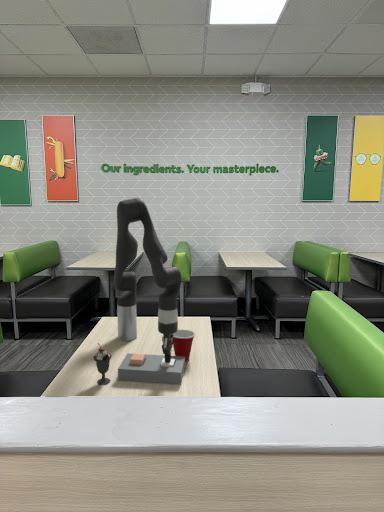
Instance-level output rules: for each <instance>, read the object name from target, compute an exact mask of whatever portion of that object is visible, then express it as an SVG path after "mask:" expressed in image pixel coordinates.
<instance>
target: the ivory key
mask: <svg viewBox="0 0 384 512" xmlns="http://www.w3.org/2000/svg"><path fill="white" fill-rule="evenodd" d="M174 366H175V359H171V361H170V363H168V362H165V358H163V360H162V362H161V367H174Z"/></svg>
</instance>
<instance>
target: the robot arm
mask: <svg viewBox="0 0 384 512" xmlns="http://www.w3.org/2000/svg"><path fill="white" fill-rule="evenodd" d="M116 206H117V207H116V225H117V232H116V233H117V234H116V245H115V267H114V272H113V273H114V274H113V282H112V285H113V288H114V291H116V292H126V293H125V294H124V295H122V296H120V297H118V298H117V300H116V305H117V306H116V307H117V308H116V309H117V310H116V312H117V314H116V315H117V339H118V340H119V341H123V342H128V341H133V340H135V339H137V338H138V337H137V336H138V333H137V332H138V329H137V326H138V324H137V322H138V321H137V320H138V319H137V317H138V315H137V285H138V284H137V282H138V281H137V280H138V279H137V274H136V272H135V271H126V270H127V269H128V268H129V267H130V266H131V265H132V264H133V262H134V261H135V260H136V259H137V256H138V247H139V245H138V241H137V240H136V238H135V237H134V235H133V234H132V233H131V232H130V230H129V225H130V224H132V223H136V222H141V224H142V227H143V239H142V248H143V251H144V253H145V256H146V258H147V259H148V262H149V264H150V269H151V273H152V279H153V282H154V284H155V285H156V286H157V287H159V288H160V289H165V290H163V291H162V292H161V293H160V294H159V295H158V311H157V331H158V332H159V334H162V337H161V341H162V345H161V349H162V355H165V362H168V363H170V361H171V356H172V349H173V338H174V334H173V333H176V332H177V330H179V327H178V324H179V322H178V321H179V318H178V316H179V314H178V313H179V312H178V295H179V292H180V288H181V285H182V281H183V279H182V278H183V277H182V273H181V271H180V269H179V268H178V267H176V266H170V267H166V268H165V267H164V264H166V263H167V262H168V255H167V253H166V251H165V249H164V247H163V245H162V244H161V243H162V242H160V239H159V237H158V235H157V232H156V229H155V226H154V223H153V219H152V217H151V214H150V212H149V209H148V207H147V205H146V203H145V201H144V200H143V199H142V198H141V197H133V198H130V199H124V200H121V201H119V202H118V203H117V205H116Z"/></svg>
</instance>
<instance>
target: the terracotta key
mask: <svg viewBox="0 0 384 512" xmlns="http://www.w3.org/2000/svg"><path fill="white" fill-rule="evenodd" d="M132 354H133V355H132V357H131V359H130V365H144V363H145V353H132Z"/></svg>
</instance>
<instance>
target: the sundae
mask: <svg viewBox="0 0 384 512" xmlns="http://www.w3.org/2000/svg"><path fill="white" fill-rule="evenodd" d="M97 345H99V347H100V348H98V350H97V352H96V354H95V355H94V356H93V361H95V364H96V368H97V372H98V373H99V374H101V378H99V379H98V380H96V384H98V385H99V386H105V385H106V386H107V385H108V384H110V382H111V379H110V378H108V377H106V373H108V371H109V368H110V364H111V363H110V361H111V359H112V358H113V357H112V356H113V355H112V354H110V353H108V352H107V350H105V349H103V348H102V346H101V345H100V343H97Z"/></svg>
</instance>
